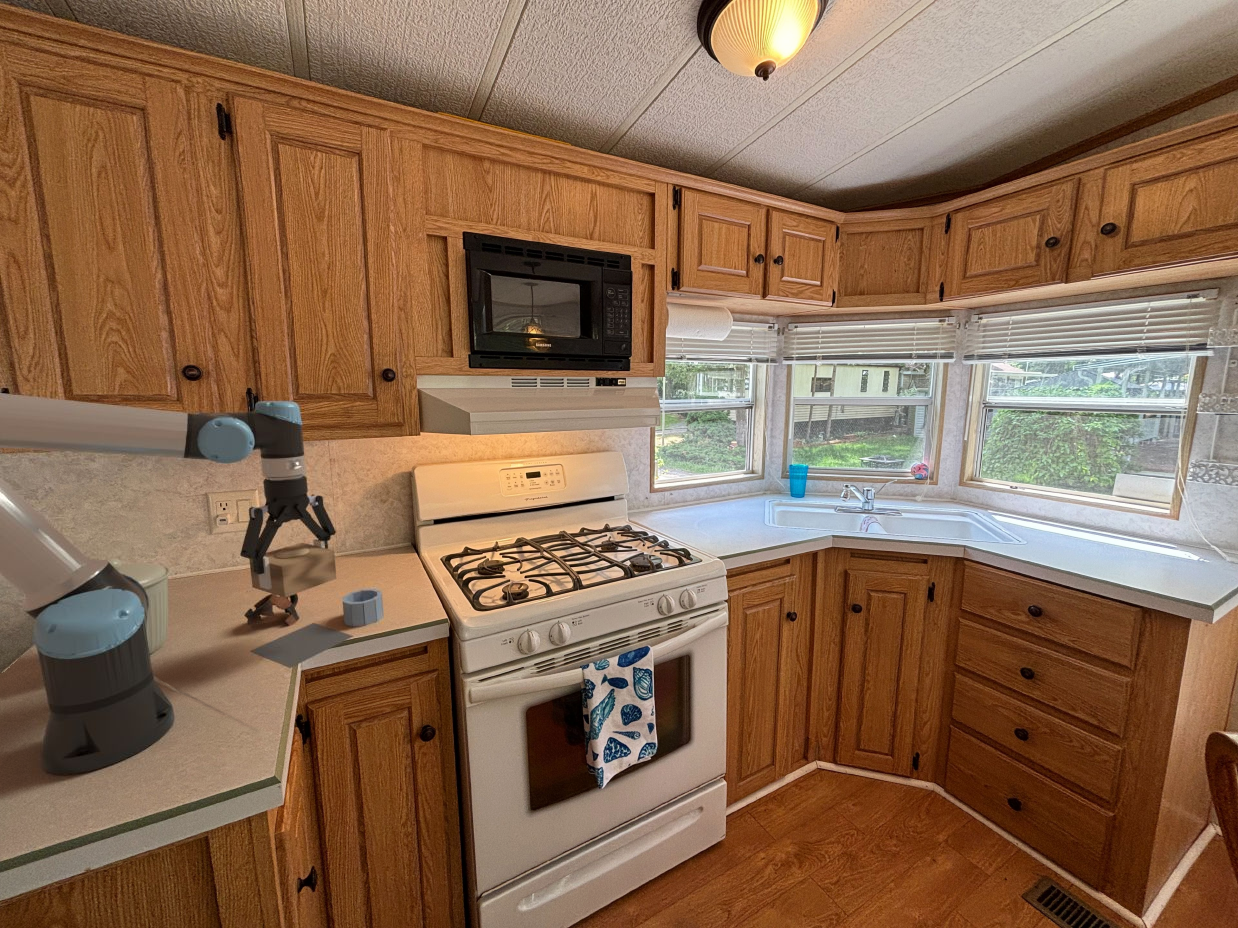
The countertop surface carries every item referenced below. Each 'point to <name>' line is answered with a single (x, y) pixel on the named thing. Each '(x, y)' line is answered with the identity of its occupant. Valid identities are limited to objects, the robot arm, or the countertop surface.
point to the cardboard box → (297, 569)
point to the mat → (301, 644)
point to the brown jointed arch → (266, 608)
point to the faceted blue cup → (362, 607)
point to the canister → (150, 596)
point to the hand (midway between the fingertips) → (294, 577)
